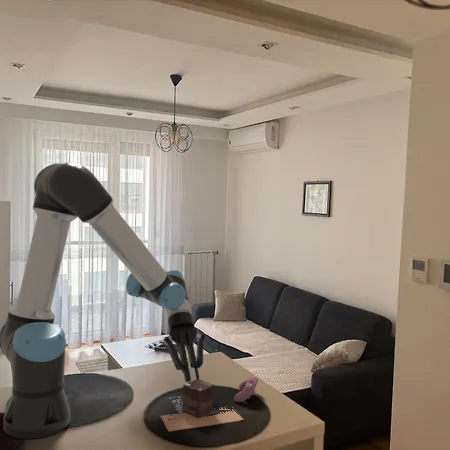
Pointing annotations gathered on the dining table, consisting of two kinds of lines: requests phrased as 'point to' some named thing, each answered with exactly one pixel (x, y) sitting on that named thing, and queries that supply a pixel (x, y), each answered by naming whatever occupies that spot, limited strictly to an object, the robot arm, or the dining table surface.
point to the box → (198, 398)
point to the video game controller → (246, 389)
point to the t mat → (197, 419)
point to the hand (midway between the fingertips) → (194, 392)
